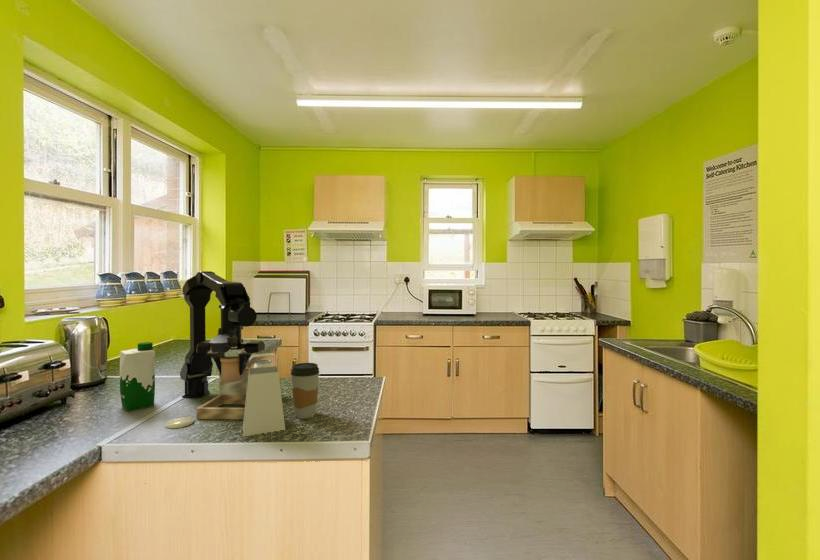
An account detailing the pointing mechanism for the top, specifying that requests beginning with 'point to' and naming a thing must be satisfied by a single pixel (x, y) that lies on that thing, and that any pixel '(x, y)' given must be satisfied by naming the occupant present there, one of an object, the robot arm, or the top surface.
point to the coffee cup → (305, 389)
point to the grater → (263, 400)
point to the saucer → (179, 422)
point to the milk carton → (137, 377)
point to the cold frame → (226, 400)
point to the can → (263, 363)
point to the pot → (230, 368)
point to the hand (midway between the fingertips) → (231, 374)
